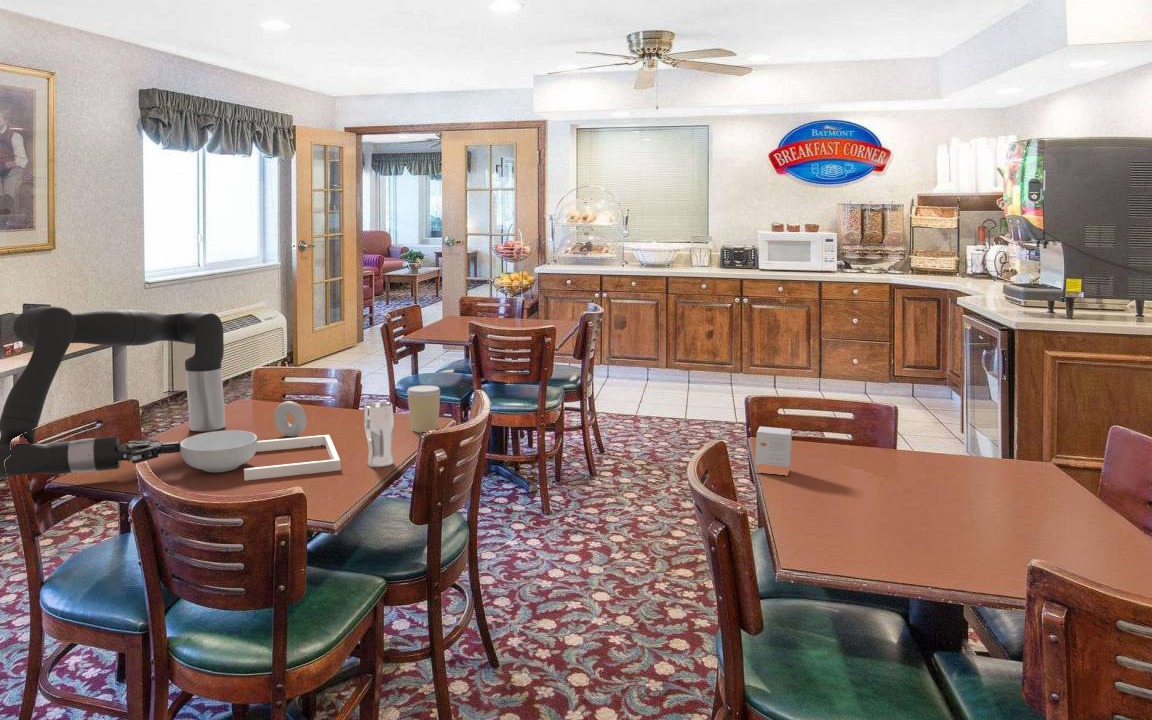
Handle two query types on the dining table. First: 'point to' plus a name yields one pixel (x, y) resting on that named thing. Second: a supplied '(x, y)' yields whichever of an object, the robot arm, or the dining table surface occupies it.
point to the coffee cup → (424, 407)
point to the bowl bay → (296, 467)
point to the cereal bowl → (219, 450)
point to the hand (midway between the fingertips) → (180, 446)
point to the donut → (282, 420)
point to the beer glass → (379, 433)
